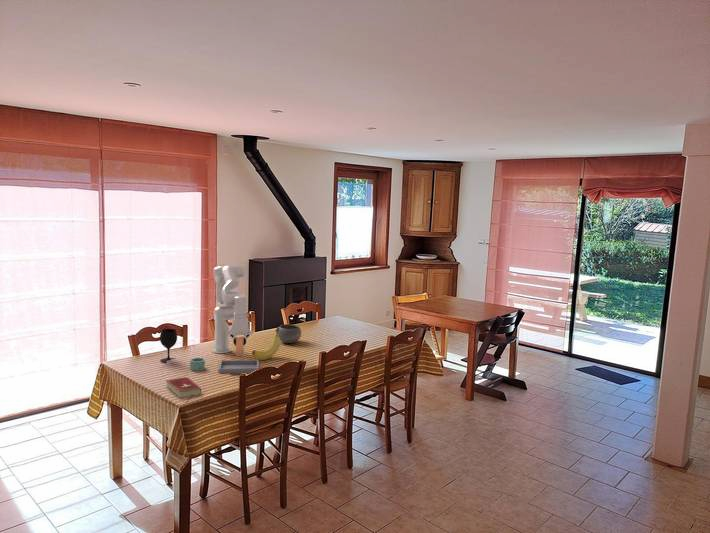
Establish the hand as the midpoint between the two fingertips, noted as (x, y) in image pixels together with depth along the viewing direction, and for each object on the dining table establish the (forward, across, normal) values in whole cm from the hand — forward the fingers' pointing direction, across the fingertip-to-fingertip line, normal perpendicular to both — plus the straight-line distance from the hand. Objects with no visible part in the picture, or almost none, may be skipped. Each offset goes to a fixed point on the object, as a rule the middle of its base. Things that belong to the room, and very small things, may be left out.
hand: (239, 344), depth 331 cm
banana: (+16, -17, -23) cm, 33 cm away
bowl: (+16, -35, -64) cm, 75 cm away
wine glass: (+16, +45, -20) cm, 52 cm away
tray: (+16, 0, 0) cm, 16 cm away
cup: (+16, +25, 0) cm, 30 cm away
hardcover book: (+17, +29, +35) cm, 48 cm away
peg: (+6, 0, 0) cm, 6 cm away
